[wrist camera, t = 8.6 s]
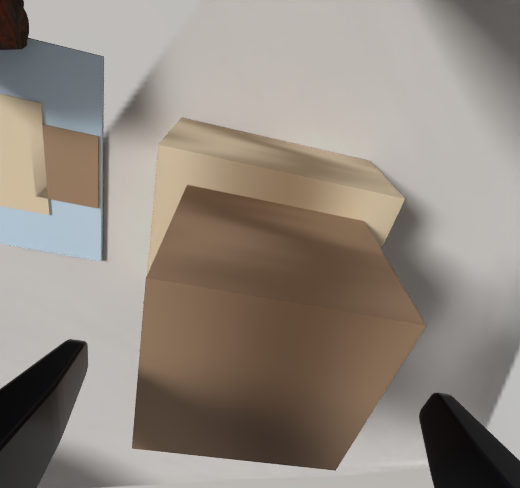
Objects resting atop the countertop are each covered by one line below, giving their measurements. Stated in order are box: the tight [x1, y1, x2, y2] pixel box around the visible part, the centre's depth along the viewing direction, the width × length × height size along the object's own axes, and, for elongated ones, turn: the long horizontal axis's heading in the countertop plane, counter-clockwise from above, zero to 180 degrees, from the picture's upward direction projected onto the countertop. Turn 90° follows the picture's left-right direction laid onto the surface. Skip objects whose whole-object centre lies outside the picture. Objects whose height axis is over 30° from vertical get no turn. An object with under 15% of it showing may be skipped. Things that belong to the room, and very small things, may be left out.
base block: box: [147, 118, 405, 274], centre depth 15 cm, size 8×8×4 cm
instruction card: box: [0, 38, 104, 261], centre depth 15 cm, size 6×9×1 cm, turn 167°
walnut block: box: [132, 185, 426, 470], centre depth 11 cm, size 6×6×5 cm
